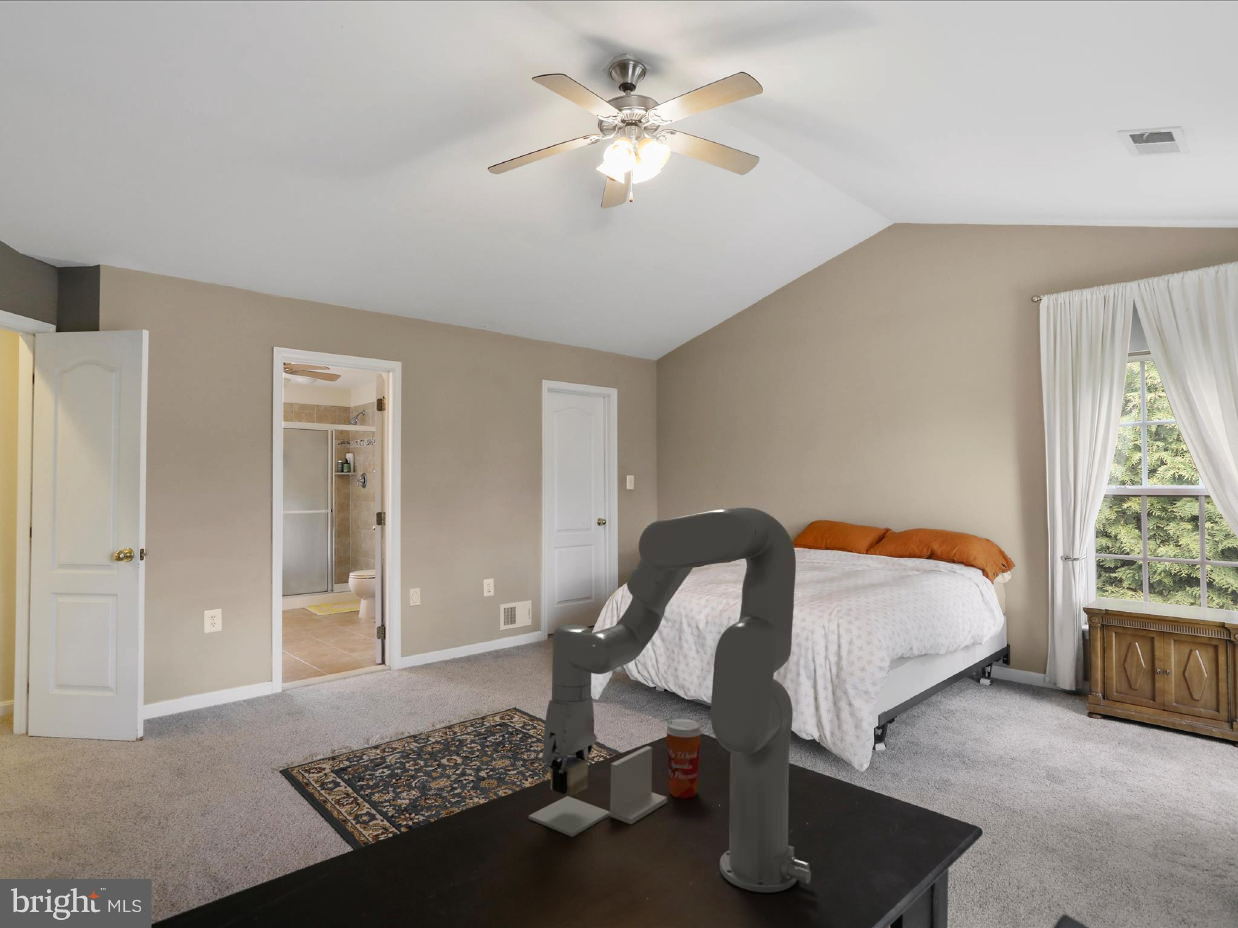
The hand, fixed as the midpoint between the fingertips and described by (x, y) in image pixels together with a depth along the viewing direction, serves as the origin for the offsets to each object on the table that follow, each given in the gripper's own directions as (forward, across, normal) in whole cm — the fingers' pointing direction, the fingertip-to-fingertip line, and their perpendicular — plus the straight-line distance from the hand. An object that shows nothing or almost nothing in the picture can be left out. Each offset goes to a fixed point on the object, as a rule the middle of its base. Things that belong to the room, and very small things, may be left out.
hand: (569, 785), depth 136 cm
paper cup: (+6, -23, +11) cm, 26 cm away
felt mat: (+6, 0, 0) cm, 6 cm away
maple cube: (+1, 0, 0) cm, 1 cm away
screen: (+6, -11, +9) cm, 15 cm away
